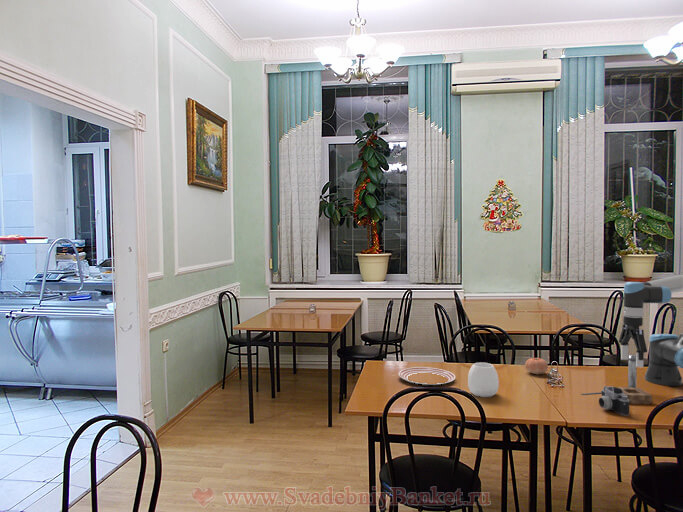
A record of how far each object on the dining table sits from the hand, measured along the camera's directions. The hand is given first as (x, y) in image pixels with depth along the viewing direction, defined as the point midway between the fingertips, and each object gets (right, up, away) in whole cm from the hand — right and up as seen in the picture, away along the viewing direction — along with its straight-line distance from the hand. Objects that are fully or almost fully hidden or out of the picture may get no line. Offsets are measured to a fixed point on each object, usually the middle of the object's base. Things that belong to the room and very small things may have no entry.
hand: (631, 363), depth 224 cm
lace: (-18, -13, -3) cm, 22 cm away
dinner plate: (-89, -13, +20) cm, 92 cm away
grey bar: (+1, -13, +1) cm, 13 cm away
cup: (-68, -14, -3) cm, 69 cm away
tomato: (-31, -12, +30) cm, 45 cm away
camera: (-23, -14, -23) cm, 35 cm away
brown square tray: (-6, -13, -11) cm, 18 cm away
